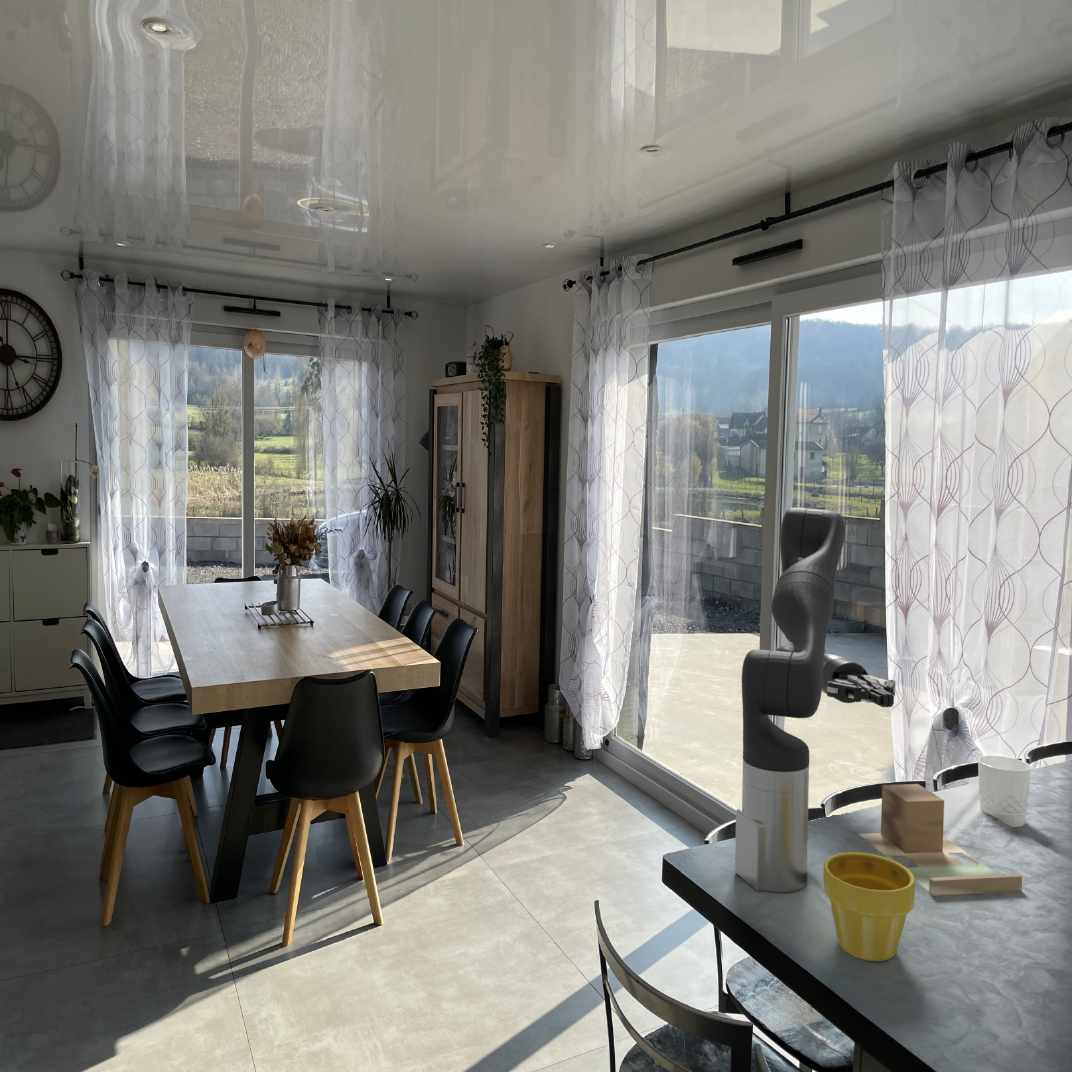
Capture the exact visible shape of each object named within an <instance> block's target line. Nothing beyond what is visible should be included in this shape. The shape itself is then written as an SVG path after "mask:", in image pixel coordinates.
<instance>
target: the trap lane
mask: <svg viewBox="0 0 1072 1072" xmlns="http://www.w3.org/2000/svg"><path fill="white" fill-rule="evenodd" d="M858 835H859V836H860V837H861V838H863V839H864V841H866V842H867V843H869V844H870V845H871V846H872V847H874V848H875V850H877V851H878V852H879V853H881V854H882V855H883V857H885V858H888V859H891V860H893V861H896V862H898V861H897V860H896V859H895V858H893V857H901V856H903V857H905V858H907V859H908V860H909V861H911V862H912V863H913V864H914V865H915V866H917V867H906V868H907V869H908V870H909V871H910V872H911V873H912V874H913V876H914V878H915V883H916V884H918V885H919V886H920V887H922V889H924V890H925V891H926V892H928V893H929V894H930V895H932V896H934V897H935V896H948V895H949V896H951V895H966V894H970V895H971V894H985V893H986V894H987V893H1004V892H1007V893H1010V892H1022V891H1023V887H1022V886H1023V876H1022V875H1021V874H1020V873H1006V874H1003V873H1002V874H1001V873H1000V874H999V873H997V872H996V871H994V870H993V869H991V868H990V867H988V866H987V865H986V864H984V863H982V862H981V861H979V859H977V858H975V857H973V855H971V854H969V853H968V852H966V850H964V849H962V848H961V847H959V846H958V845H957V844H955V843H953V842H952V841H951V840H950V839H948V838H947V837H945V836H943V852H927V853H906V854H905V853H904V852H903V851H902V850H900V849H899V848H898V847H897V846H895V845H894V844H893V843H891V842H890V841H889V840H888V839H886V838H885V837H884V836H883V835H881V832H875V833H874V832H871V833H858ZM951 854H963V855H965V857H967V858H968V859H970V860H972V861H973V862H974V863H976V864H964V863H962V862H961V861H959V860H958V859H957V858H955V857H954V856H952V855H951ZM898 863H899V864H901V863H900V862H898Z"/></svg>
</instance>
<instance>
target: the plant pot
mask: <svg viewBox="0 0 1072 1072" xmlns="http://www.w3.org/2000/svg"><path fill="white" fill-rule="evenodd" d="M896 861H897V860H896ZM896 861H893V860H891V859H888V858H887V857H886V856H881V855H877V854H873V853H866V852H857V851H856V852H841V853H837V854H834V855H831V856H829V857H827V859H826V860H825V861H824V864H823V876H822V877H823V891H824V893H825V896H826V897H827V899H828V900H829V902H830V906H831V910H832V916H833V921H834V925H835V932H836V936H837V941H838V944H839V946H840V948H841V949H842V950H843V951H844V952H845V953H847V954H848V955H850V956H852V957H854V958H856V959H860V960H863V961H866V962H867V961H869V962H884V961H888V960H891V959H892V958H894V956H895V955H896V954H897V951H898V947H899V945H900V941H901V940H900V939H901V936H902V933H903V929H904V925H905V921H906V919H907V915H908V914H909V913H910V912H911V911H912V910H913V908H914V905H915V894H916V881H915V878H914V876H913V874H912V873H911V872H910V871H909V870H908V869H907V868H908V867H906V866H904V865H903V864H902V863H900V862H899V861H897V862H896ZM899 863H900V864H899Z"/></svg>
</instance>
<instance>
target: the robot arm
mask: <svg viewBox="0 0 1072 1072" xmlns="http://www.w3.org/2000/svg"><path fill="white" fill-rule="evenodd" d="M779 536H780V537H779V548H780V549H779V550H780V559H781V562H780V563H781V572H782V574H781V575H780V576H779V578H778V580H777V581H776V585H775V588H774V592H773V595H772V596H773V597H772V601H771V605H770V606H771V614H772V617H773V619H774V622H775V624H776V625H777V627H778V628H779V630H780V632H781V633H782V634H783V635H784V637H785V638H786V640H787V641H788V642H790V644H785V645H782V646H779V647H778V648H776V650H769V649H751V650H750V651H748V652H747V654H745V657H744V659H743V663H742V667H741V699H742V701H741V703H742V704H741V705H742V783H741V786H742V787H741V788H742V789H741V791H742V792H741V808H738V809H736V811H735V845H734V846H735V849H734V850H735V851H734V852H735V861H734V864H735V865H734V873H735V874H737V875H738V876H740V878H741V879H742V880H744V881H745V882H746V883H748V885H749V886H751V887H752V888H753V889H754V890H755V891H769V892H775V893H793V892H796V891H800V890H801V889H803V888H804V887H805V886H806V885H807V883H808V842H809V841H808V838H809V837H808V835H809V833H808V832H809V831H808V830H809V787H810V786H809V784H810V780H809V779H810V749H809V746H808V744H807V743H806V742H805V741H804V740H803V739H801V738H799V737H797V736H795V735H793V734H791V733H789V732H787V731H785V730H783V729H782V728H781V727H779V726H778V725H777V724H775V723H774V722H773V721H772V720H771V719H770V717H769V716H774V717H775V716H776V717H785V718H791V719H809V718H811V717H813V716H814V715H815V714H816V713H817V710H818V709H819V706H820V703H821V698H822V697H821V696H822V693H823V694H825V695H826V696H827V697H830V698H833V699H835V700H837V701H838V702H841V703H843V704H853V703H861V702H865V703H869V704H871V703H873V704H875V705H877V706H879V707H881V708H893V706H894V703H895V696H896V682H897V681H896V680H893V679H889V680H887V681H884V683H880V681H879V680H878V679H876V678H872V677H871V676H870V675H869V673H868V672H867V670H866V669H865V668H864V666H862V665H861V664H859V663H857V662H856V661H855V662H854V661H852V660H850V659H847V658H845V657H843V656H840V655H836V654H832V653H829V652H827V651H826V649H825V648H826V647H825V646H826V641H827V640H826V639H827V634H828V631H829V630H828V629H829V626H830V625H829V624H830V620H831V615H832V609H833V603H834V597H835V595H834V594H835V584H836V575H837V570H838V569H837V568H838V565H839V562H840V558H841V555H842V551H843V547H844V543H845V536H846V523H845V520H844V518H843V516H842V515H841V514H840V513H838V512H836V511H833V510H827V509H817V508H806V507H805V508H804V507H791V508H790V507H789V508H788V509H786V511H785V513H784V515H783V517H782V520H781V525H780V533H779ZM800 559H801V560H800Z"/></svg>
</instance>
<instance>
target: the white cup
mask: <svg viewBox="0 0 1072 1072" xmlns="http://www.w3.org/2000/svg"><path fill="white" fill-rule="evenodd" d="M977 760H978V761H977V762H978V763H977V764H978V765H977V766H978V768H977V769H978V793H979V794H978V795H979V797H978V798H979V799H978V800H979V802H980V803H979V805H980V806H979V808H980V811H982V812H983V813H985V814H987V815H989V816H992V817H994V818H996V819H997V820H999V821H1001V822H1002V823H1004V824H1006V825H1007V826H1009V827H1011V828H1021V827H1023V826H1024V825H1026V820H1027V809H1028V805H1029V796H1030V787H1031V786H1030V785H1031V775H1032V766H1031V764H1030V763H1027V762H1026V761H1023V760H1020V759H1017V758H1013V757H1009V756H1002V755H1001V756H999V755H984V756H983V755H982V756H980V757H978V759H977Z"/></svg>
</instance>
